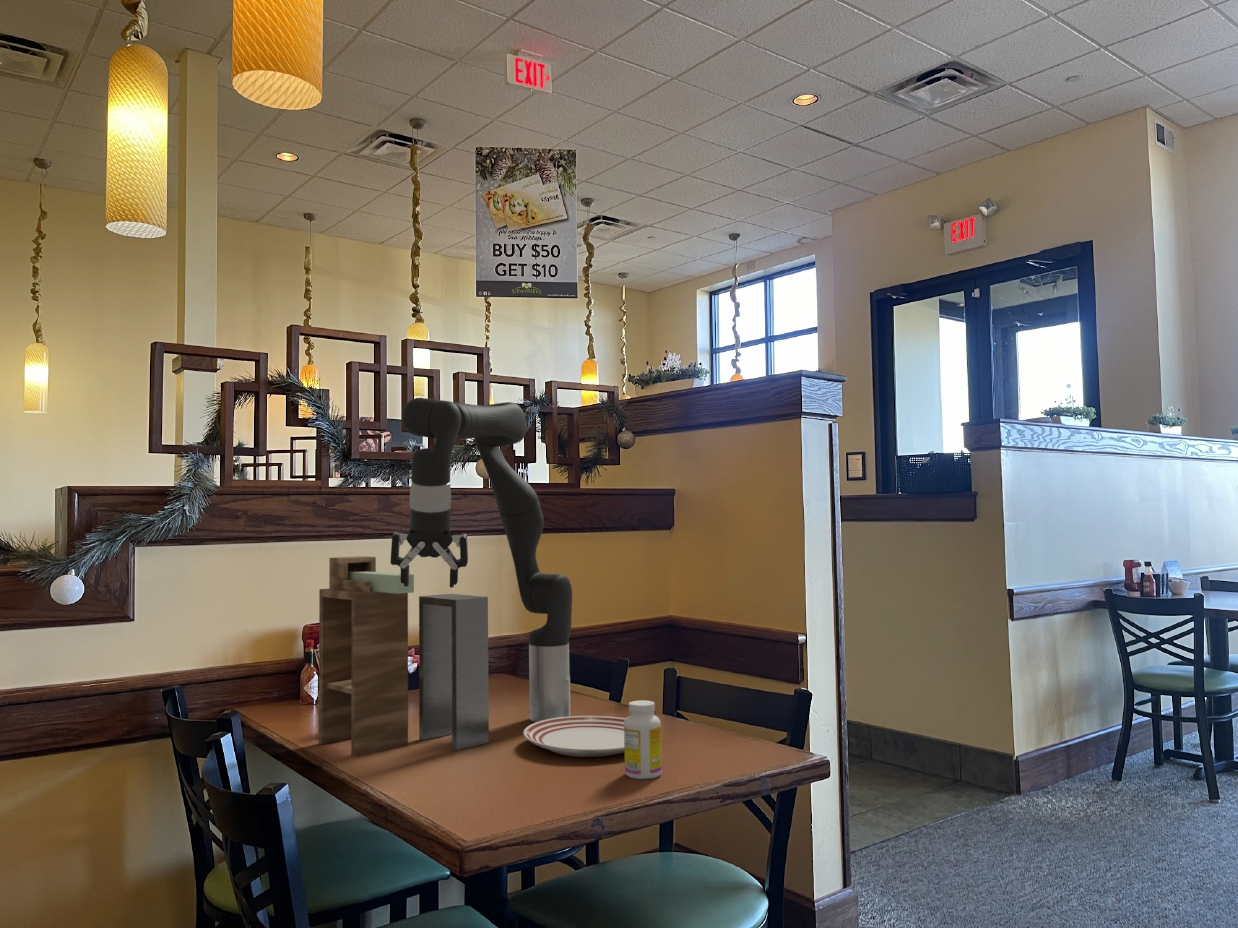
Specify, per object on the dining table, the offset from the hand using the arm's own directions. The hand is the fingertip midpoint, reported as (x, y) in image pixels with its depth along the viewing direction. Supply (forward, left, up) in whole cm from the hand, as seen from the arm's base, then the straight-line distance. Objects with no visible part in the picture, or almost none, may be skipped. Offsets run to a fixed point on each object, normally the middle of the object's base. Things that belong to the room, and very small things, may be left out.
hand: (429, 585), depth 172 cm
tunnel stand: (+17, -16, -34) cm, 41 cm away
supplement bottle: (-40, +9, -34) cm, 53 cm away
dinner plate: (-30, -13, -34) cm, 48 cm away
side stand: (-1, -18, -34) cm, 38 cm away
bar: (+13, -13, -2) cm, 19 cm away
